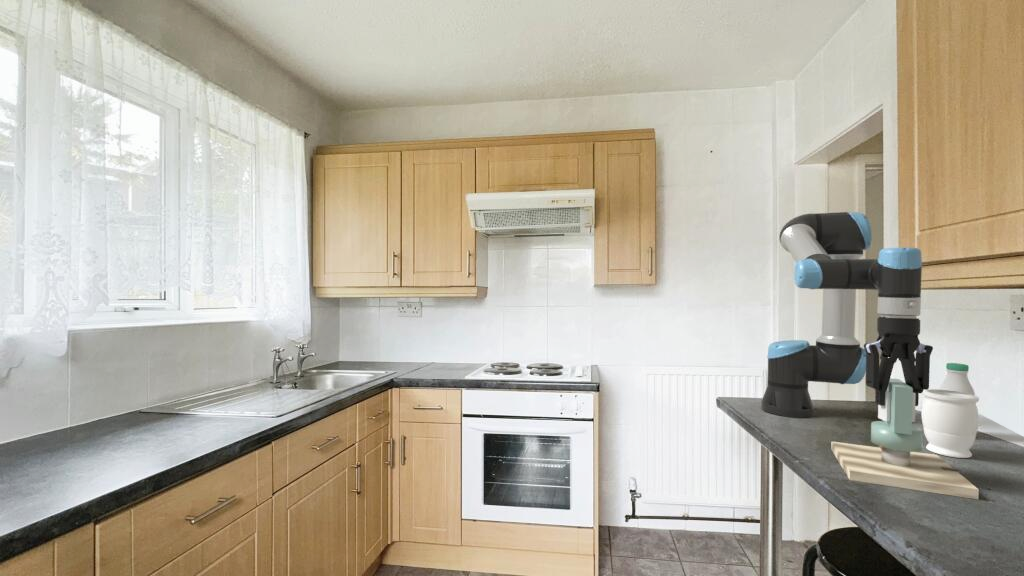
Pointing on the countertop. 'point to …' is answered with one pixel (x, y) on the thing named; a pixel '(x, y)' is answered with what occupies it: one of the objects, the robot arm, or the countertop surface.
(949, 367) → the milk bottle
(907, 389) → the mint bar with ball
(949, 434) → the jar
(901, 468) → the base
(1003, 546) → the countertop surface
